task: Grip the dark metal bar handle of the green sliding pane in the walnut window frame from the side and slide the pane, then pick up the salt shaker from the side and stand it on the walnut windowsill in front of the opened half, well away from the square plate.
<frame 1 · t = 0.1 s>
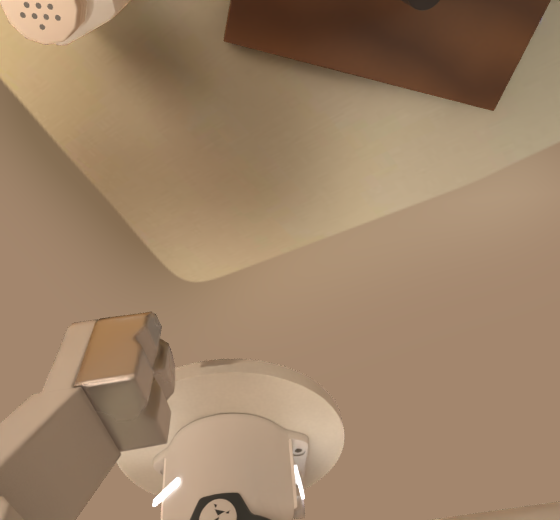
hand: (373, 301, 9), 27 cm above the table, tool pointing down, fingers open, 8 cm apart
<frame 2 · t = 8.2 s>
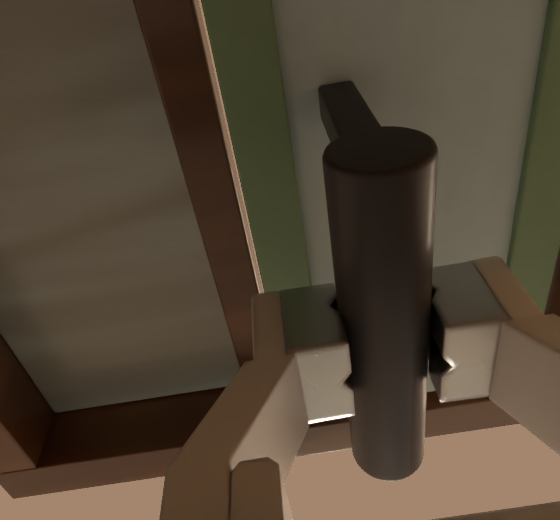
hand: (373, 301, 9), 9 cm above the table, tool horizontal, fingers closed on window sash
window sash: (435, 257, 10), point 9 cm above the table, slide at 0.0 cm, touching gripper
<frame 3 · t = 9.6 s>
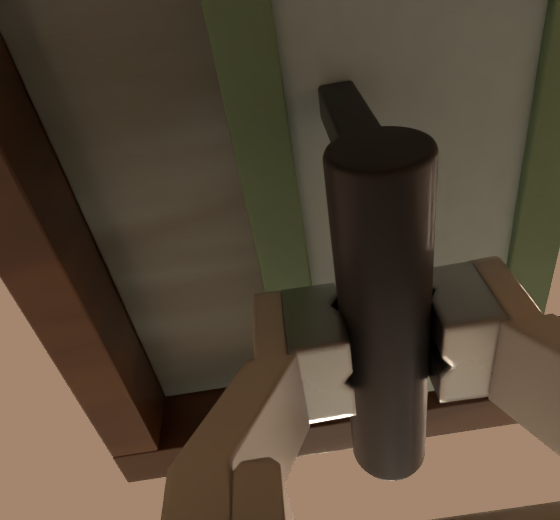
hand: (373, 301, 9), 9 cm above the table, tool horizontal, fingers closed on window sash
window sash: (435, 257, 10), point 9 cm above the table, slide at 4.0 cm, touching gripper
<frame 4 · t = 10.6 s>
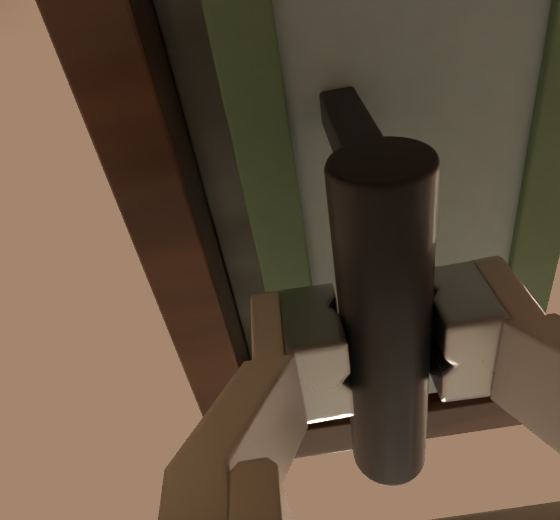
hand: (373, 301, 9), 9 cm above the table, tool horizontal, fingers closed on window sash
window sash: (436, 263, 10), point 9 cm above the table, slide at 7.2 cm, touching gripper
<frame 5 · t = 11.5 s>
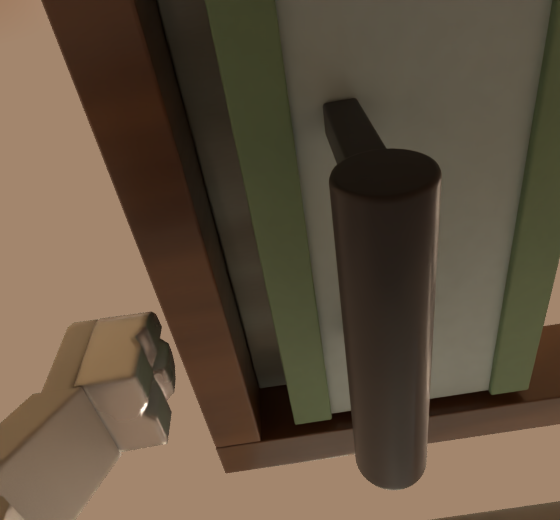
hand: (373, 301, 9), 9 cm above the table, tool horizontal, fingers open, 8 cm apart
window sash: (437, 270, 10), point 9 cm above the table, slide at 7.2 cm
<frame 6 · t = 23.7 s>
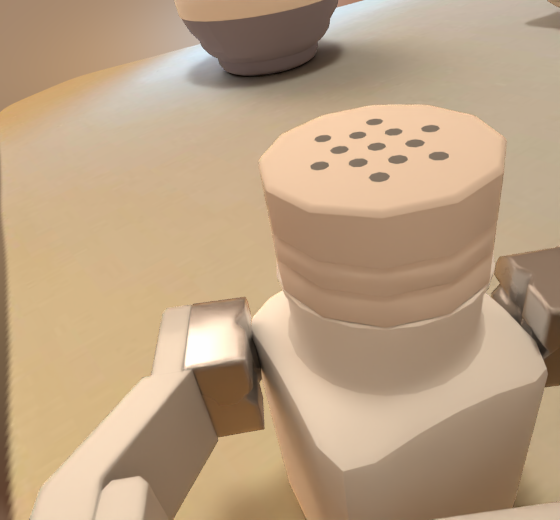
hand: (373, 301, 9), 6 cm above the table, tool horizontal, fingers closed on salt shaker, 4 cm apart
salt shaker: (389, 511, 12), on the table, touching gripper
bowl: (269, 64, 46), on the table
when the fingers open (7 cm above the table, at t = 34.0 s): salt shaker stays where it is, resting on window frame.
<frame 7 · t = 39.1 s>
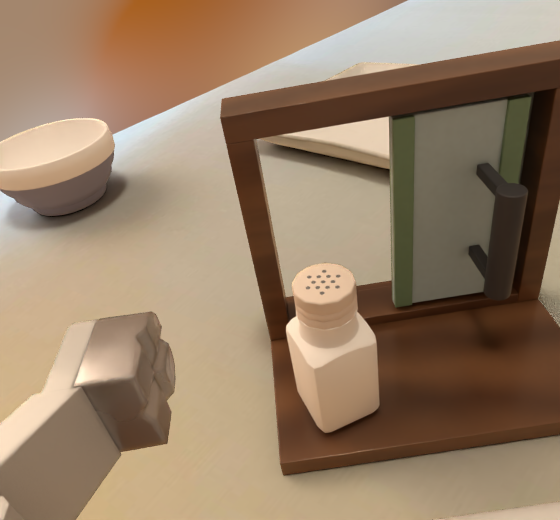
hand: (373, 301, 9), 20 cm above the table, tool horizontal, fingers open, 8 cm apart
window frame: (398, 318, 37), on the table
square plate: (388, 128, 65), on the table
salt shaker: (338, 403, 30), point 1 cm above the table, touching window frame
window sash: (464, 231, 29), point 9 cm above the table, slide at 7.2 cm
bowl: (72, 200, 62), on the table
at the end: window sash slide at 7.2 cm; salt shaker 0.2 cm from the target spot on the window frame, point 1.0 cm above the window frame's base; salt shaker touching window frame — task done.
